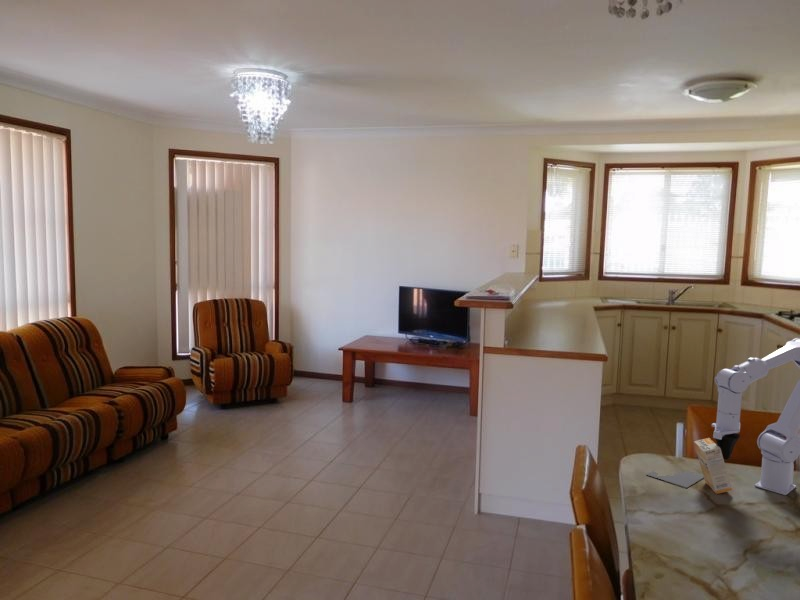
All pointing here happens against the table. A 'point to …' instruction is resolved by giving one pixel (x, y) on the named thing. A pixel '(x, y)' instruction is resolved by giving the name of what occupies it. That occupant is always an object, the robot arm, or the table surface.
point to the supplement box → (713, 465)
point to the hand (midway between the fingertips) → (724, 458)
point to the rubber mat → (679, 478)
